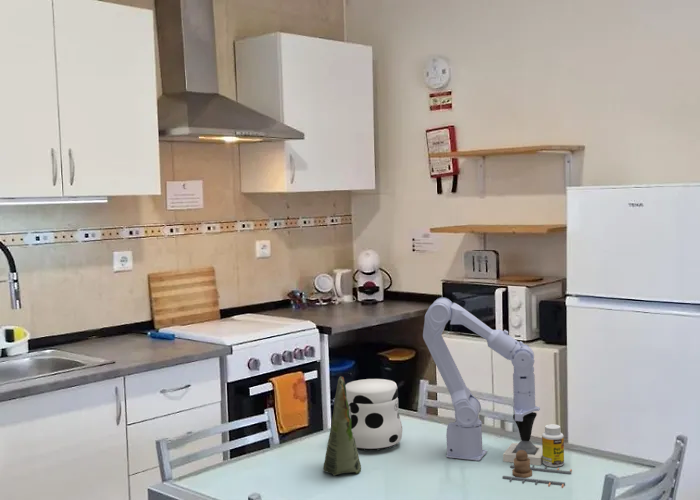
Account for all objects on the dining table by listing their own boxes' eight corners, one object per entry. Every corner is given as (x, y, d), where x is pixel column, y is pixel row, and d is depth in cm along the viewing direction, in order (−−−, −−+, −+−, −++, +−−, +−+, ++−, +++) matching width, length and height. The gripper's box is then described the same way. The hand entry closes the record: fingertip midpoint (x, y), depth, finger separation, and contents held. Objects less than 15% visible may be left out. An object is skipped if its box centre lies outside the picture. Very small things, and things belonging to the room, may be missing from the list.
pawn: (510, 476, 206) (509, 452, 206) (514, 470, 211) (514, 446, 210) (529, 479, 204) (529, 454, 204) (534, 472, 209) (533, 448, 208)
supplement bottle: (554, 469, 210) (553, 430, 209) (538, 463, 215) (537, 426, 214) (568, 464, 213) (568, 426, 212) (552, 459, 218) (551, 421, 217)
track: (500, 480, 204) (500, 478, 204) (512, 464, 215) (512, 462, 215) (563, 488, 197) (563, 486, 197) (572, 471, 208) (572, 469, 208)
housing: (503, 461, 218) (503, 454, 218) (512, 449, 227) (512, 442, 227) (540, 465, 214) (540, 457, 213) (548, 453, 223) (548, 446, 222)
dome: (514, 458, 219) (513, 441, 219) (518, 452, 224) (518, 436, 223) (533, 460, 217) (533, 443, 216) (537, 454, 221) (537, 437, 221)
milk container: (413, 441, 239) (411, 380, 237) (384, 458, 224) (381, 395, 223) (363, 433, 248) (360, 375, 247) (332, 450, 234) (329, 389, 232)
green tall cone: (343, 460, 224) (339, 371, 222) (374, 470, 216) (370, 377, 214) (313, 472, 216) (308, 379, 214) (344, 482, 208) (340, 386, 206)
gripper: (533, 398, 211) (534, 449, 212) (544, 385, 224) (546, 433, 225) (506, 396, 214) (507, 447, 215) (519, 383, 227) (520, 431, 228)
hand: (525, 440), depth 220 cm, fingers closed
